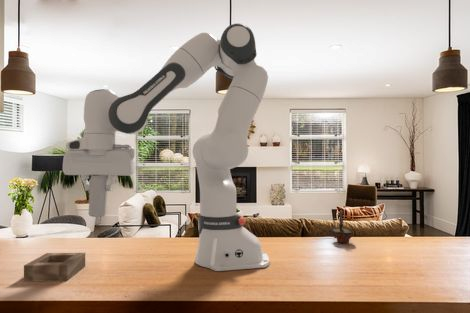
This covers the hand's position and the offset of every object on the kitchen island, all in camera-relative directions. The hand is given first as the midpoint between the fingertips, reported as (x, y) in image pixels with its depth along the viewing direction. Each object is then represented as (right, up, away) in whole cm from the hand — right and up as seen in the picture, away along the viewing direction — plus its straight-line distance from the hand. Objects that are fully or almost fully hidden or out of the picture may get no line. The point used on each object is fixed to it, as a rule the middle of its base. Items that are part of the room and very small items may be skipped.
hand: (98, 190), depth 99 cm
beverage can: (0, -8, 0) cm, 8 cm away
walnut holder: (-8, -22, -8) cm, 25 cm away
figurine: (+80, -22, +23) cm, 86 cm away
